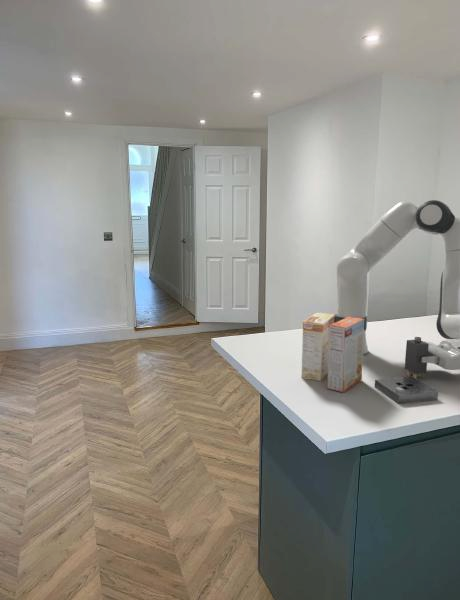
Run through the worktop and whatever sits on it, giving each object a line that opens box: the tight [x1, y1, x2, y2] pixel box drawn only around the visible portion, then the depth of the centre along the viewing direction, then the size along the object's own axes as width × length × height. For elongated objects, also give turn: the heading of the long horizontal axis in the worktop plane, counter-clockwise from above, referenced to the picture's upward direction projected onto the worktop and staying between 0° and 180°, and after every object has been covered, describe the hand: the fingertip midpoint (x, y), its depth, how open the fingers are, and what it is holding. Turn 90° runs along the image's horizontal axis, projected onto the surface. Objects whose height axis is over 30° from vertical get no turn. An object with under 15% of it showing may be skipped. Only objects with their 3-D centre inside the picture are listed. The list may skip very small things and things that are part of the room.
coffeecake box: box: [301, 312, 336, 382], centre depth 156 cm, size 15×7×20 cm, turn 152°
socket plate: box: [374, 375, 439, 405], centre depth 140 cm, size 13×13×3 cm
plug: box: [404, 336, 429, 379], centre depth 153 cm, size 6×4×14 cm
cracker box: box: [326, 317, 364, 394], centre depth 145 cm, size 14×6×21 cm, turn 141°
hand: (414, 356), depth 153 cm, fingers open, 6 cm apart
